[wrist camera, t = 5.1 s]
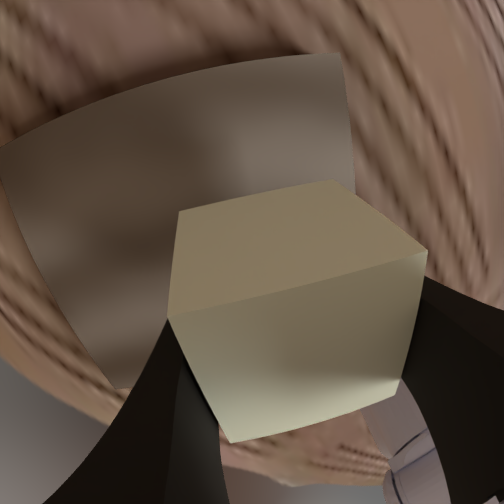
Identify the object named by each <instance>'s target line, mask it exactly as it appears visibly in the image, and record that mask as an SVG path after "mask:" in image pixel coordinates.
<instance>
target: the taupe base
mask: <svg viewBox="0 0 504 504" xmlns="http://www.w3.org/2000/svg"><path fill="white" fill-rule="evenodd" d="M0 178H1V181H2V184H3V187H4V190H5V193H6V196H7V198H8V201H9V204H10V206H11V209H12V211H13V214H14V216H15V219H16V221H17V224H18V226H19V228H20V231H21V233H22V235H23V238H24V240H25V242H26V244H27V246H28V249H29V251H30V253H31V255H32V257H33V259H34V261H35V263H36V265H37V267H38V269H39V271H40V273H41V275H42V277H43V279H44V281H45V283H46V284H47V286H48V288H49V290H50V292H51V294H52V295H53V297H54V299H55V301H56V302H57V304H58V306H59V308H60V309H61V311H62V313H63V314H64V316H65V318H66V319H67V321H68V322H69V324H70V326H71V327H72V329H73V330H74V332H75V334H76V335H77V337H78V338H79V340H80V341H81V343H82V344H83V346H84V347H85V349H86V350H87V352H88V353H89V354H90V356H91V357H92V359H93V360H94V362H95V363H96V364H97V366H98V367H99V368H100V370H101V371H102V373H103V374H104V375H105V377H106V378H107V379H108V381H109V382H110V383H111V384H112V386H113V387H114V388H115V389H122V388H130V387H134V385H135V383H136V381H137V380H138V378H139V376H140V374H141V372H142V370H143V368H144V366H145V364H146V362H147V360H148V358H149V356H150V354H151V352H152V350H153V348H154V346H155V344H156V342H157V340H158V338H159V336H160V333H161V331H162V329H163V327H164V325H165V322H166V320H167V318H168V317H167V311H168V300H169V289H170V280H171V271H172V262H173V254H174V246H175V238H176V230H177V223H178V216H179V211H183V210H187V209H191V208H195V207H199V206H204V205H208V204H212V203H217V202H221V201H226V200H230V199H235V198H239V197H244V196H248V195H253V194H258V193H263V192H267V191H272V190H277V189H282V188H287V187H293V186H298V185H303V184H308V183H314V182H319V181H325V180H330V179H334V180H335V181H337V182H338V183H339V184H341V185H342V186H344V187H345V188H347V189H348V190H349V191H351V192H352V193H354V194H355V195H356V192H355V176H354V162H353V149H352V139H351V129H350V120H349V111H348V103H347V95H346V88H345V81H344V75H343V68H342V62H341V56H340V53H323V54H306V55H294V56H284V57H275V58H267V59H259V60H252V61H246V62H240V63H234V64H228V65H223V66H218V67H213V68H208V69H203V70H199V71H194V72H190V73H186V74H182V75H178V76H174V77H170V78H166V79H163V80H159V81H156V82H152V83H149V84H146V85H142V86H139V87H136V88H133V89H130V90H127V91H124V92H121V93H118V94H115V95H112V96H110V97H107V98H104V99H101V100H99V101H96V102H94V103H91V104H89V105H86V106H84V107H81V108H79V109H76V110H74V111H72V112H69V113H67V114H65V115H63V116H60V117H58V118H56V119H54V120H52V121H50V122H47V123H45V124H43V125H41V126H39V127H37V128H35V129H33V130H31V131H29V132H27V133H26V134H24V135H22V136H20V137H18V138H16V139H14V140H13V141H11V142H9V143H7V144H5V145H4V146H2V147H0Z"/></svg>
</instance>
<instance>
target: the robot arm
mask: <svg viewBox="0 0 504 504" xmlns="http://www.w3.org/2000/svg"><path fill="white" fill-rule="evenodd" d="M360 410H361V413H362V415H363V417H364V419H365V421H366V423H367V425H368V428H369V430H370V432H371V434H372V436H373V438H374V441H375V443H376V445H377V447H378V449H379V450H380V452H381V453H382V454H383V455H384V456H385V457H387V458H388V459H389V460H388V463H389V465H390V468H391V469H390V470H388V471H387V472H386V474H385V478H384V481H383V494H384V497H385V501H386V503H387V504H504V311H503V310H501V309H498V308H495V307H492V306H489V305H487V304H484V303H482V302H480V301H477V300H475V299H473V298H470V297H468V296H466V295H464V294H461V293H459V292H457V291H455V290H453V289H451V288H448V287H446V286H444V285H442V284H440V283H438V282H436V281H434V280H432V279H430V278H428V277H426V276H424V280H423V286H422V291H421V297H420V302H419V307H418V312H417V316H416V321H415V325H414V330H413V334H412V338H411V342H410V346H409V350H408V353H407V357H406V361H405V364H404V368H403V371H402V375H401V378H400V381H399V384H398V387H397V391H396V394H395V395H394V396H391V397H389V398H386V399H384V400H381V401H379V402H376V403H374V404H371V405H369V406H366V407H363V408H360ZM43 504H230V503H229V499H228V495H227V490H226V485H225V480H224V475H223V470H222V464H221V455H220V443H219V426H218V420H217V419H216V417H215V415H214V413H213V411H212V409H211V407H210V405H209V404H208V402H207V400H206V398H205V396H204V394H203V392H202V390H201V388H200V386H199V384H198V382H197V380H196V378H195V376H194V374H193V372H192V370H191V368H190V366H189V364H188V361H187V359H186V357H185V355H184V353H183V351H182V349H181V347H180V344H179V342H178V340H177V338H176V336H175V333H174V331H173V329H172V327H171V324H170V322H169V320H168V318H167V320H166V322H165V325H164V327H163V329H162V331H161V333H160V336H159V338H158V340H157V342H156V344H155V346H154V348H153V350H152V352H151V354H150V356H149V358H148V360H147V362H146V364H145V366H144V368H143V370H142V372H141V374H140V376H139V378H138V380H137V381H136V383H135V385H134V387H133V389H132V390H131V392H130V394H129V396H128V398H127V399H126V401H125V403H124V404H123V406H122V408H121V409H120V411H119V413H118V414H117V416H116V417H115V419H114V420H113V422H112V423H111V425H110V426H109V428H108V429H107V431H106V432H105V434H104V435H103V436H102V438H101V439H100V440H99V442H98V443H97V444H96V446H95V447H94V448H93V450H92V451H91V452H90V453H89V455H88V456H87V457H86V458H85V460H84V461H83V462H82V464H81V465H80V466H79V467H78V468H77V469H76V470H75V471H74V473H73V474H72V475H71V476H70V477H69V478H68V479H67V480H66V481H65V482H64V483H63V484H62V485H61V487H60V488H59V489H58V490H57V491H56V492H55V493H54V494H53V495H51V496H50V497H49V498H48V499H47V500H46V501H45V502H44V503H43Z"/></svg>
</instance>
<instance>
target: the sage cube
mask: <svg viewBox="0 0 504 504" xmlns="http://www.w3.org/2000/svg"><path fill="white" fill-rule="evenodd" d="M427 254H428V250H427V249H425V248H424V247H423V246H422V245H421V244H419V243H418V242H417V241H416V240H415V239H413V238H412V237H411V236H410V235H408V234H407V233H406V232H404V231H403V230H402V229H401V228H399V227H398V226H397V225H396V224H394V223H393V222H392V221H390V220H389V219H388V218H386V217H385V216H384V215H382V214H381V213H380V212H378V211H377V210H376V209H374V208H373V207H372V206H370V205H369V204H368V203H366V202H365V201H364V200H362V199H361V198H359V197H358V196H357V195H355V194H354V193H352V192H351V191H349V190H348V189H347V188H345V187H344V186H342V185H341V184H339V183H338V182H337V181H335V180H334V179H330V180H325V181H319V182H314V183H308V184H303V185H298V186H293V187H287V188H282V189H277V190H272V191H267V192H263V193H258V194H253V195H248V196H244V197H239V198H235V199H230V200H226V201H221V202H217V203H212V204H208V205H204V206H199V207H195V208H191V209H187V210H183V211H179V216H178V223H177V230H176V238H175V246H174V254H173V262H172V271H171V280H170V289H169V300H168V311H167V317H168V320H169V322H170V324H171V327H172V329H173V331H174V333H175V336H176V338H177V340H178V342H179V344H180V347H181V349H182V351H183V353H184V355H185V357H186V359H187V361H188V364H189V366H190V368H191V370H192V372H193V374H194V376H195V378H196V380H197V382H198V384H199V386H200V388H201V390H202V392H203V394H204V396H205V398H206V400H207V402H208V404H209V405H210V407H211V409H212V411H213V413H214V415H215V417H216V419H217V420H218V422H219V424H220V426H221V428H222V429H223V431H224V433H225V435H226V437H227V438H228V440H229V442H230V443H234V442H240V441H245V440H250V439H255V438H260V437H264V436H269V435H273V434H277V433H281V432H285V431H289V430H293V429H297V428H301V427H304V426H308V425H311V424H315V423H318V422H321V421H325V420H328V419H331V418H334V417H337V416H340V415H343V414H346V413H349V412H352V411H355V410H358V409H360V408H363V407H366V406H369V405H371V404H374V403H376V402H379V401H381V400H384V399H386V398H389V397H391V396H394V395H395V394H396V391H397V387H398V384H399V381H400V378H401V375H402V371H403V368H404V364H405V361H406V357H407V353H408V350H409V346H410V342H411V338H412V334H413V330H414V325H415V321H416V316H417V312H418V307H419V302H420V297H421V291H422V286H423V280H424V274H425V268H426V261H427Z"/></svg>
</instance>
